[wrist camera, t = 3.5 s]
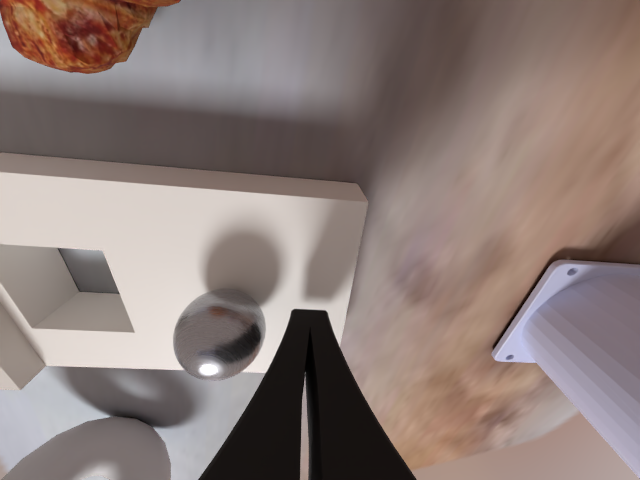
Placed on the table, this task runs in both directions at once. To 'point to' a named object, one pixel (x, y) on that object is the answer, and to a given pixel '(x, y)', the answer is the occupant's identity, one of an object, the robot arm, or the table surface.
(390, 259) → the table surface
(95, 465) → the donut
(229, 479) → the robot arm
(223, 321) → the ball
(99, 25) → the croissant
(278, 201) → the board
